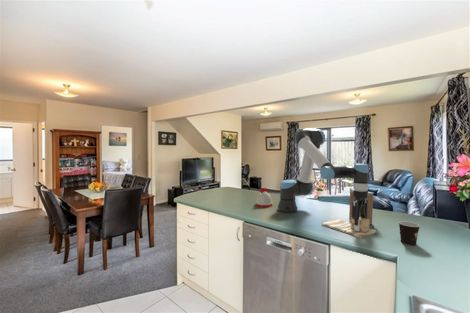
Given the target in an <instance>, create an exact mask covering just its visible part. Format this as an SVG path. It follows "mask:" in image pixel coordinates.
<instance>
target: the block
mask: <svg viewBox="0 0 470 313" xmlns="http://www.w3.org/2000/svg"><path fill="white" fill-rule="evenodd" d="M365 199H366V200H368V212H367V216H366V217H367V218H366V219H369V220H370V221H369V225H371V224H372V223H373V211H374V210H373V207H374V206H373V205H374V194H373V193H372V192H368V197H367V198H365ZM352 202H355V197H354V196H353V191H350V193H349V215H348V216H349V218H348V219H349V220H348V221H350V222H351V217H352ZM358 207H359V206H358ZM359 217H361V215H360V216H359Z"/></svg>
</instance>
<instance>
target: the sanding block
mask: <svg viewBox="0 0 470 313" xmlns="http://www.w3.org/2000/svg"><path fill="white" fill-rule="evenodd" d="M359 220H360V231H359V232H362V233H367V232H369V228H370V224H369V221H370V220H369V219H366V218H362V217H359ZM350 223H351V229H352V230H354V219H352V217H351V221H350Z"/></svg>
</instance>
